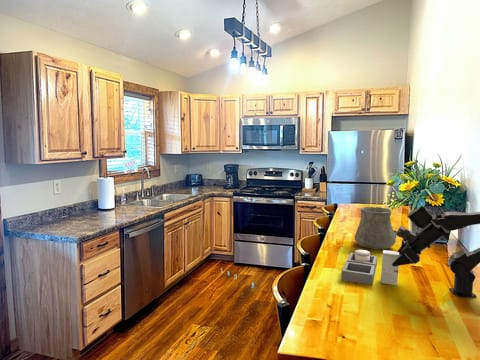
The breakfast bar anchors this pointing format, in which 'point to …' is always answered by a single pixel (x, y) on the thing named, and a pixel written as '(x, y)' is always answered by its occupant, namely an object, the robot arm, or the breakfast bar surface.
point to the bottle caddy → (360, 267)
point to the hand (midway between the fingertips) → (392, 261)
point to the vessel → (375, 228)
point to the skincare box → (389, 267)
